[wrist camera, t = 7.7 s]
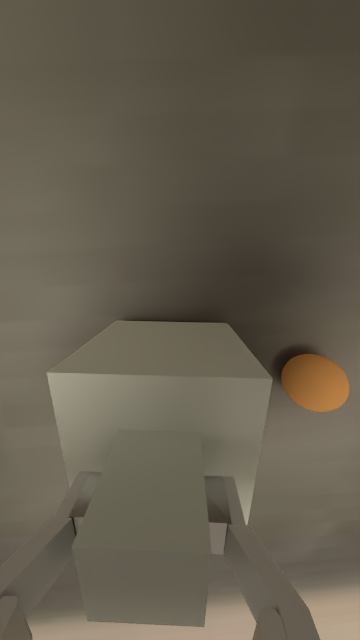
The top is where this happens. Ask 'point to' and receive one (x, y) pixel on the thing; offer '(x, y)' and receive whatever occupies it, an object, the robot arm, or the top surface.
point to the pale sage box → (156, 459)
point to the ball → (315, 382)
